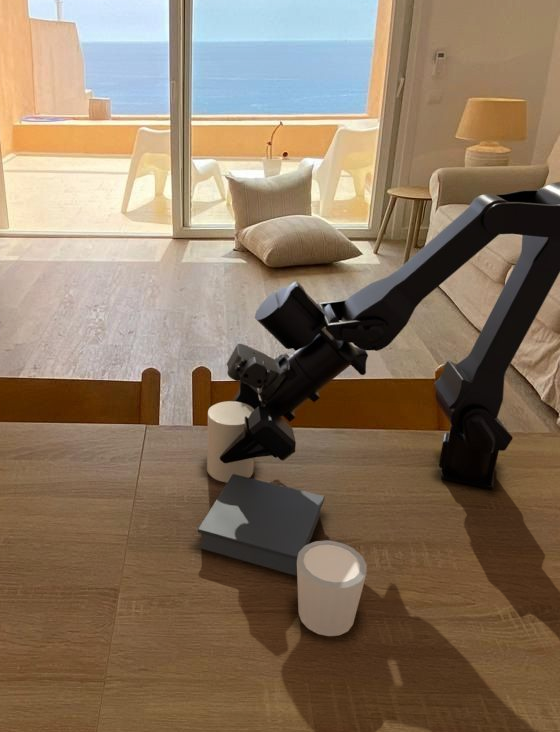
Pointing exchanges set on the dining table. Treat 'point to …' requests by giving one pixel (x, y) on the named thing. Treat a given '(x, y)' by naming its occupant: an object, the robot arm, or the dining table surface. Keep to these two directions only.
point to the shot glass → (329, 586)
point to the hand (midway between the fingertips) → (220, 442)
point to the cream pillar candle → (226, 439)
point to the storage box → (261, 523)
